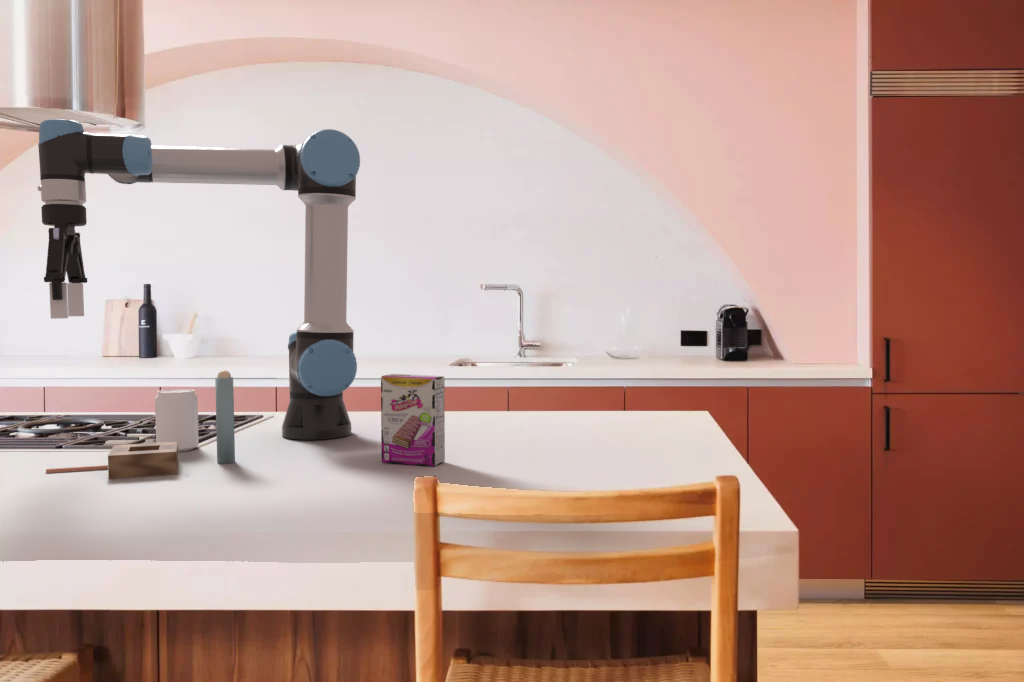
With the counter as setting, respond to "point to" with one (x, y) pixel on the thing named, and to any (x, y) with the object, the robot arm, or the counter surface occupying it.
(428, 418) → the candy bar box
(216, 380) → the grey-green rod
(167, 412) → the beverage can
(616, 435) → the counter surface
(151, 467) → the wooden block with hole
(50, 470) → the copper rod
